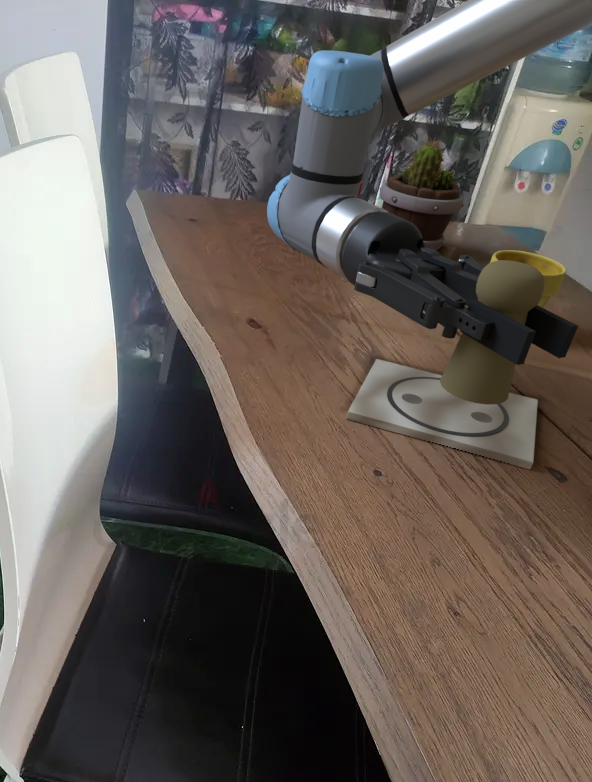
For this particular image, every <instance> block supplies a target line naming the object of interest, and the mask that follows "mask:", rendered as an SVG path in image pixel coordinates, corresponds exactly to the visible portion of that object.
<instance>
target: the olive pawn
mask: <svg viewBox="0 0 592 782" xmlns="http://www.w3.org/2000/svg"><path fill="white" fill-rule="evenodd" d="M484 266H485V267H484V268H483V270H482V272H481V273H480V275H479V277H478V281H477V284H476V294H477V297H478V301H480V302H481V303H483V304H484V305H486V306H488V307H491V308H493V309H495V310H497V311H499V312H501V313H502V314H504V315H506V316H508V317H510V318H512V319H514V320H516V321H517V322H519V323H521V324H523V325H525V323H526V318H527V314H528V311H530V310H531V309H532V308H534V307H535V306H536V305H537V303H538V302H539V301H540V299H541V297H542V294H543V291H544V284H545V281H544V276H543V275H542V273H541V272H540V271H539V270H538V269H536V268H534V267H532V266H530V265H527V264H524V263H521V262H516V261H508V260H499V261H494V262H491V263H490V262H488V264H486V265H484ZM461 333H462V332H461ZM516 366H517V365H516V364H514V363H513V362H511V361H509V360H508V359H506V358H504V357H502V356H501V355H499V354H497V353H496V352H494V351H492V350H491V349H489V348H487V347H485V346H484V345H482V344H480V343H479V342H477V341H475V340H474V339H472V338H470V337H469V336H467V335H465V334H463V333H462V334H461V335H460V338H459V339H458V342H457V344H456V346H455V347H454V350H453V352H452V354H451V356H450V358H449V360H448V363H447V364H446V367H445V370H444V371H443V373H442V377H441V380H440V383H441V386H442V387H443V388H444V389H445V390H446V391H447V392H449V393H450V394H452V395H454V396H456V397H458V398H461V399H463V400H466V401H470V402H473V403H479V404H486V405H489V404H500V403H503V402H505V401H506V400H507V399H508V396H509V393H511V392H510V391H511V386H512V382H513V378H514V374H515V369H516Z"/></svg>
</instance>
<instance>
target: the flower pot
mask: <svg viewBox="0 0 592 782" xmlns="http://www.w3.org/2000/svg"><path fill="white" fill-rule="evenodd" d="M499 260H508V261H516V262H521V263H524V264H527V265H530V266H532V267H534V268H536V269H538V270H539V271H540V272H541V273H542V275H543V276H544V281H545V284H544V291H543V294H542V297H541V299H540V301H539V302H538V303H537V305H538V306H540V307H542V308H544V309H545V307H546V305H547V304H548V302H549V300H550V299H551V298H552V297H554V296H556V295H558V292H559V291H560V289H561V286H562V284H563V282H564V279H565V277H566V274H567V268H566V267H565V266H564V265H563V264H561V262H559V261H557V260H555V259H553V258H550V257H547V256H544V255H541V254H537V253H534V252H528V251H524V250H516V249H515V250H514V249H513V250H512V249H503V250H499V251H495V252H494V253H493V254H492V256H491V259H490V261H489V263H491V262H494V261H499Z"/></svg>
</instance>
